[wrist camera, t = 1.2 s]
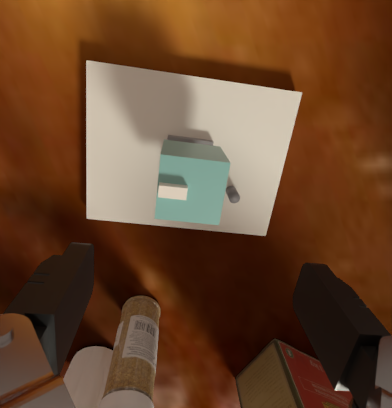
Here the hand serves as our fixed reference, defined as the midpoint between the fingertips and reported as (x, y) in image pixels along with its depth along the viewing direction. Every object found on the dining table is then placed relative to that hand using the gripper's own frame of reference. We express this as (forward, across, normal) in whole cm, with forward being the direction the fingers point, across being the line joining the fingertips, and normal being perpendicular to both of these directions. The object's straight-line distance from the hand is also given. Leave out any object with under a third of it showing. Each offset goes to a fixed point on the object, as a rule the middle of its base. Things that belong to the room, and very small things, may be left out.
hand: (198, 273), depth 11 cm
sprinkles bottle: (+19, +3, +19) cm, 27 cm away
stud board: (+19, 0, 0) cm, 19 cm away
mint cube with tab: (+14, 0, 0) cm, 14 cm away
